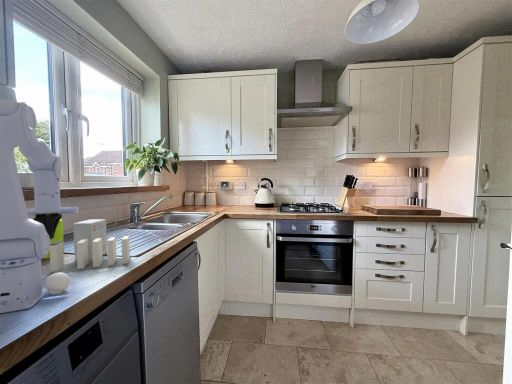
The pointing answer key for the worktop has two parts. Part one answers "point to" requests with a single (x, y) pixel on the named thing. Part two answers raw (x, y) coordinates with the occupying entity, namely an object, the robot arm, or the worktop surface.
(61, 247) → the domino
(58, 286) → the mushroom
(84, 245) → the domino
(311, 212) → the worktop surface
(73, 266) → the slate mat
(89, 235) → the small box
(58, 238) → the soap dispenser
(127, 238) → the domino
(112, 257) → the domino
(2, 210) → the robot arm
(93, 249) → the domino
